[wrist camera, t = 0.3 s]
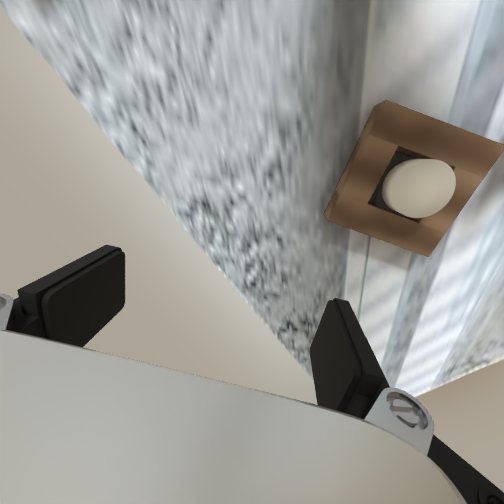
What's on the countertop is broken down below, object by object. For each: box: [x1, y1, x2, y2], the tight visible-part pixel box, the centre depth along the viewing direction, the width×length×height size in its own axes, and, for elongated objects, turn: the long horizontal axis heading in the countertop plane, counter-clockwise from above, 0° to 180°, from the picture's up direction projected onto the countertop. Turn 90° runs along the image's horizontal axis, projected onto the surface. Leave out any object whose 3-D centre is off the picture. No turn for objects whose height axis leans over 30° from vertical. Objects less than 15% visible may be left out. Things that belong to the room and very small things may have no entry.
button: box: [382, 159, 456, 218], centre depth 31 cm, size 7×7×4 cm
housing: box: [324, 100, 504, 257], centre depth 34 cm, size 16×16×4 cm
